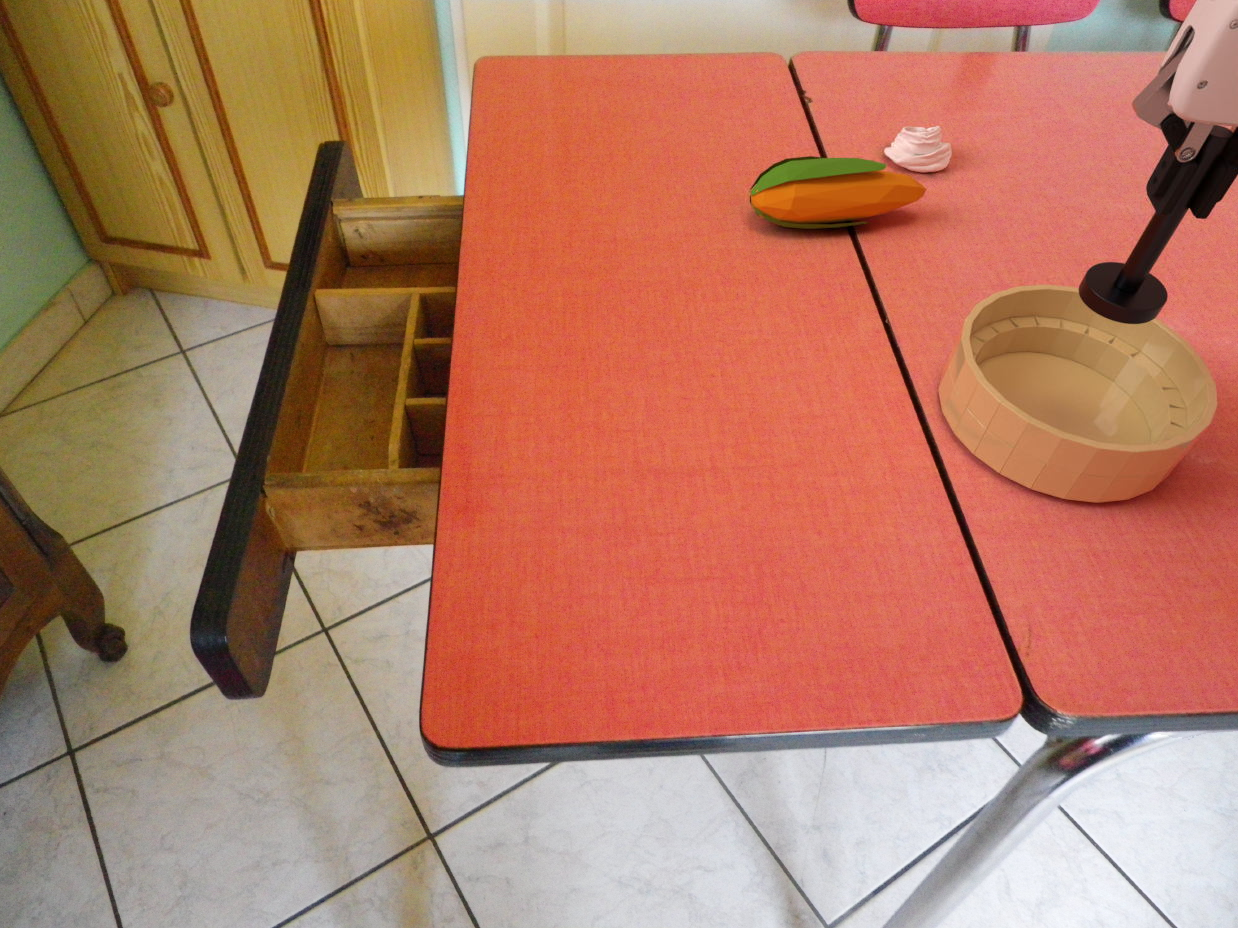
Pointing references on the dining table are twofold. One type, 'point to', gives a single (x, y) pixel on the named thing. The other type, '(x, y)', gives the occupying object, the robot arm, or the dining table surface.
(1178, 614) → the dining table surface
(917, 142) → the whipped cream
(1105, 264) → the black plunger
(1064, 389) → the bowl
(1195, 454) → the dining table surface
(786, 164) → the corn
